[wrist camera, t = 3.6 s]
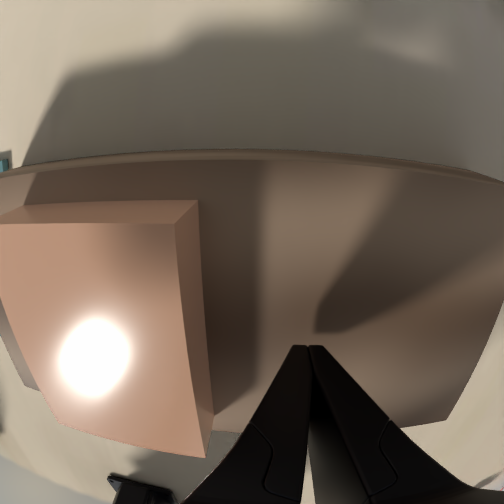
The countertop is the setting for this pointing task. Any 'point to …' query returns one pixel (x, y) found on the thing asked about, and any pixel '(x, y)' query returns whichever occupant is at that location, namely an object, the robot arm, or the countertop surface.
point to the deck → (316, 265)
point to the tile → (113, 317)
